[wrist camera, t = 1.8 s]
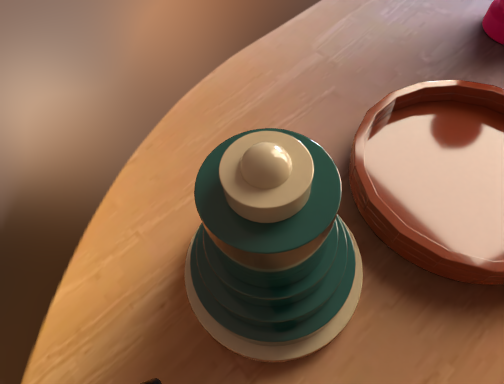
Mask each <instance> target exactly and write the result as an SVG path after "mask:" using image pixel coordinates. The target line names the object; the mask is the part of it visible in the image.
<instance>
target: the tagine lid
mask: <svg viewBox="0 0 504 384" xmlns="http://www.w3.org/2000/svg"><path fill="white" fill-rule="evenodd" d="M194 196H195V204H196V208H197V211H198V213H199V216H200V218H201V220H202V223H201V224H200V226H199V228H198V229H197V231H196V232H195V234H194V236H193V238H192V240H191V243H190V246H189V249H188V252H187V256H186V261H185V273H184V275H185V287H186V291H187V296H188V299H189V302H190V305H191V307H192V309H193V311H194V313H195V315H196V317H197V319H198V320H199V321H200V323H201V324H202V326H203V327H204V328H205V329H206V330H207V331H208V332H209V334H210V335H211V336H212V337H213V338H214V339H215V340H216V341H218V342H219V343H220V344H222V345H223V346H224V347H225V348H227V349H229V350H230V351H232V352H234V353H236V354H238V355H240V356H243V357H245V358H248V359H252V360H256V361H261V362H272V363H275V362H288V361H293V360H298V359H301V358H303V357H306V356H309V355H311V354H313V353H315V352H317V351H319V350H321V349H322V348H323V347H325V346H326V345H327V344H329V343H330V342H331V341H332V340H333V339H334V338H335V337H336V336H337V335H338V334H339V333H340V332H341V331H342V330H343V328H344V327H345V326H346V324H347V323H348V322H349V320H350V319H351V317H352V315H353V313H354V311H355V309H356V307H357V304H358V301H359V298H360V294H361V289H362V281H363V268H362V260H361V255H360V251H359V248H358V246H357V243H356V240H355V238H354V237H353V235H352V233H351V231H350V229H349V228H348V227H347V225H346V224H345V222H344V221H343V220H342V219H341V218H340V217H339V215H338V214H337V213H338V209H339V206H340V202H341V196H342V183H341V178H340V174H339V172H338V169H337V167H336V165H335V163H334V161H333V159H332V158H331V157H330V155H329V154H328V153H327V152H326V151H325V150H324V149H323V148H322V147H321V146H320V145H318V144H317V143H316V142H314V141H313V140H311V139H310V138H308V137H306V136H304V135H301V134H299V133H296V132H293V131H288V130H284V129H276V128H265V129H256V130H250V131H247V132H243V133H240V134H238V135H235V136H233V137H231V138H229V139H227V140H226V141H224V142H223V143H221V144H220V145H219V146H217V147H216V148H215V149H214V150H213V151H212V152H211V153H210V154H209V155H208V156H207V158H206V159H205V161H204V162H203V164H202V166H201V167H200V169H199V172H198V175H197V177H196V182H195V190H194Z"/></svg>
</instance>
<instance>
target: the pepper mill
mask: <svg viewBox="0 0 504 384" xmlns="http://www.w3.org/2000/svg"><path fill="white" fill-rule="evenodd" d="M482 24H483V28H484V31H485V32H486V33H487V35H488V36H489V37H490V38H492V39H493V40H495V41H496V42H498V43H501V44H503V45H504V0H494V1H493V2H492V3H491V5H490V7H489V9H488V11H487V13H486V15H485V16H484V18H483V22H482Z"/></svg>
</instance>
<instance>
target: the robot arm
mask: <svg viewBox="0 0 504 384" xmlns="http://www.w3.org/2000/svg"><path fill="white" fill-rule="evenodd" d="M140 384H162V383H161V381H160V380H159V379H158V378H154V379H151V380H148V381H145V382H142V383H140Z"/></svg>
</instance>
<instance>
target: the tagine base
mask: <svg viewBox="0 0 504 384" xmlns="http://www.w3.org/2000/svg"><path fill="white" fill-rule="evenodd" d="M349 183H350V187H351V192H352V195H353V198H354V200H355V203H356V206H357V207H358V209H359V211H360V213H361V215H362V217H363V218H364V220H365V221H366V222H367V224H368V225H369V226H370V228H371V229H372V230H373V231H374V232H375V234H376V235H377V236H378V237H379V238H380V239H381V240H382V241H383V242H384V243H385V244H387V245H388V246H389V247H390V248H391V249H392V250H394V251H395V252H396V253H398V254H399V255H401V256H402V257H404V258H405V259H406V260H408V261H410V262H412V263H413V264H415V265H417V266H419V267H421V268H423V269H425V270H427V271H430V272H432V273H435V274H437V275H439V276H443V277H446V278H450V279H453V280H456V281H462V282H467V283H473V284H486V285H497V284H504V89H502V88H499V87H497V86H494V85H488V84H482V83H476V82H469V81H463V80H443V81H428V82H420V83H417V84H414V85H411V86H408V87H405V88H402V89H399V90H396V91H394V92H391V93H389V94H388V95H387V96H386V97H384V98H383V99H382V100H380V101H379V102H378V103H377V104H375V105H374V106H373V107H372V108H370V109H369V110H368V111H367V113H366V115H365V117H364V119H363V121H362V123H361V125H360V127H359V128H358V130H357V132H356V134H355V137H354V141H353V144H352V148H351V158H350V163H349Z"/></svg>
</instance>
